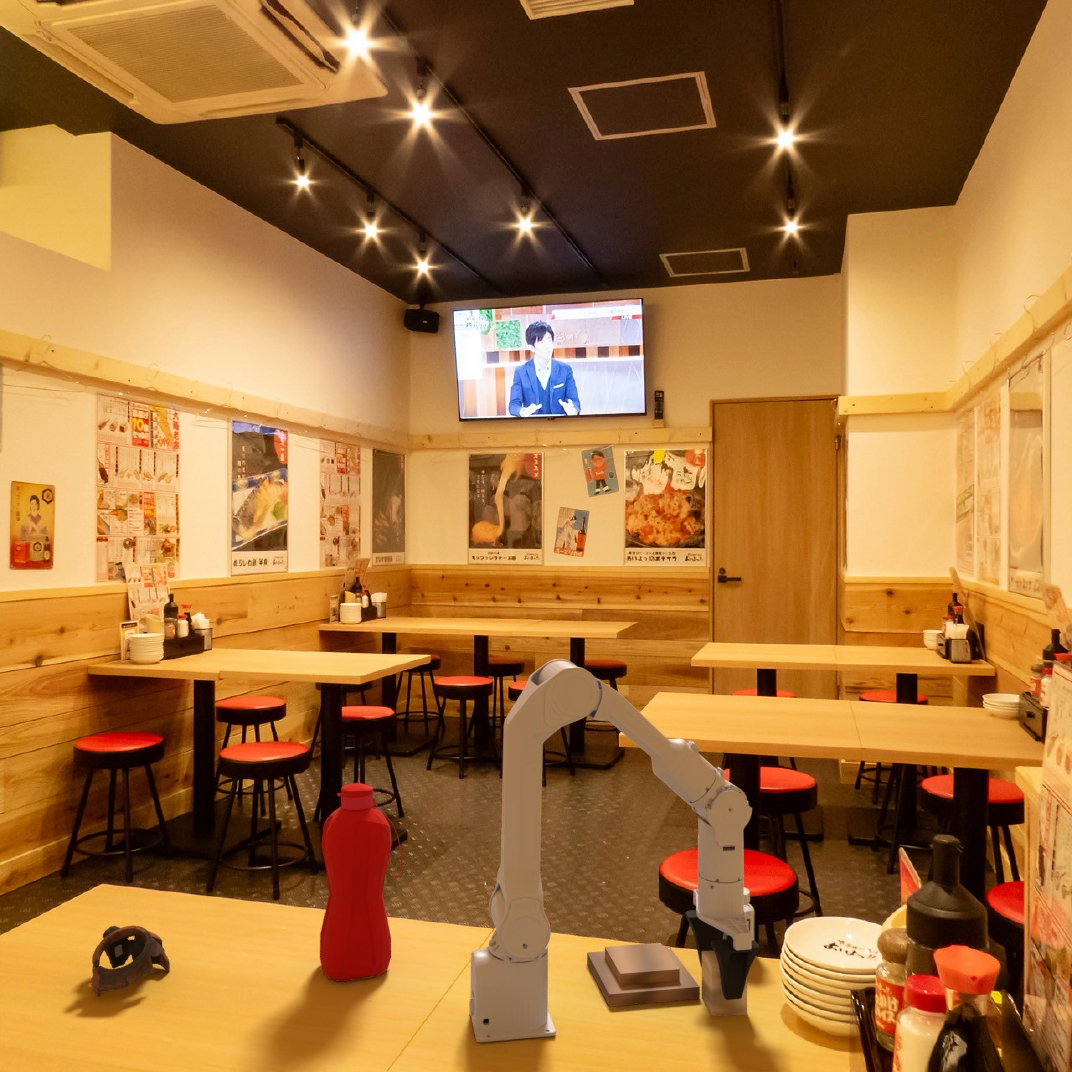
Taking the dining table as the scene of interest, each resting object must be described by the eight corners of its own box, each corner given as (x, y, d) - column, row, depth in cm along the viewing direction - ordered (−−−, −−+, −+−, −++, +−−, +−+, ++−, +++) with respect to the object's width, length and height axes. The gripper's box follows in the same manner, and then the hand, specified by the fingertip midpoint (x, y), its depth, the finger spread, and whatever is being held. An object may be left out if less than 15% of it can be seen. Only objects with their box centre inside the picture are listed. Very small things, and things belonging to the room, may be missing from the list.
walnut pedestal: (609, 1006, 111) (609, 982, 111) (587, 963, 123) (587, 941, 123) (699, 998, 114) (699, 975, 114) (669, 957, 125) (669, 935, 125)
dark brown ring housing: (189, 978, 119) (172, 938, 115) (124, 1034, 113) (104, 994, 109) (141, 934, 126) (124, 895, 122) (77, 984, 120) (57, 945, 116)
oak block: (711, 1016, 109) (711, 967, 109) (701, 998, 114) (701, 951, 114) (747, 1014, 110) (747, 966, 110) (735, 996, 114) (735, 950, 114)
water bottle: (407, 975, 119) (409, 789, 120) (324, 988, 115) (327, 796, 116) (394, 947, 128) (396, 773, 129) (316, 958, 124) (319, 779, 125)
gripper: (775, 894, 106) (775, 1009, 106) (728, 854, 120) (728, 955, 120) (719, 898, 105) (719, 1014, 104) (678, 857, 119) (678, 959, 119)
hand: (720, 983), depth 112 cm, fingers open, 7 cm apart
